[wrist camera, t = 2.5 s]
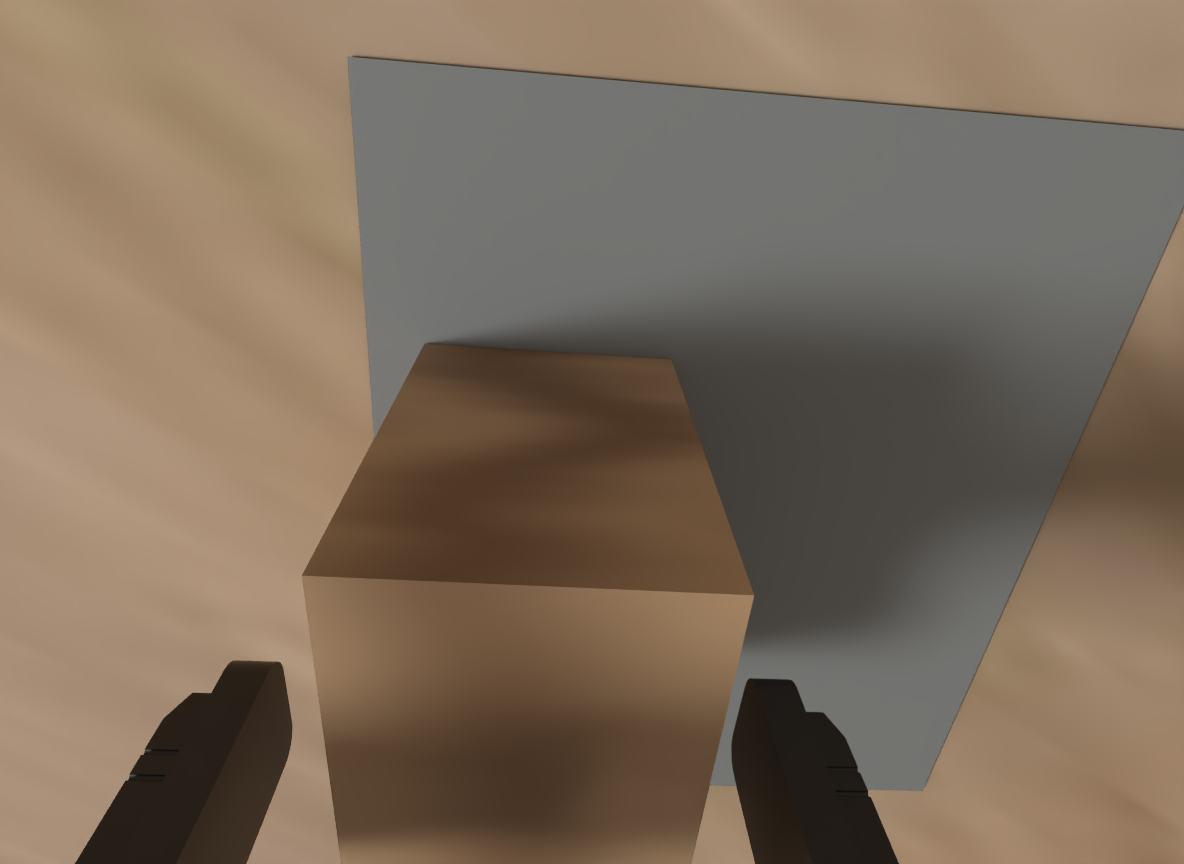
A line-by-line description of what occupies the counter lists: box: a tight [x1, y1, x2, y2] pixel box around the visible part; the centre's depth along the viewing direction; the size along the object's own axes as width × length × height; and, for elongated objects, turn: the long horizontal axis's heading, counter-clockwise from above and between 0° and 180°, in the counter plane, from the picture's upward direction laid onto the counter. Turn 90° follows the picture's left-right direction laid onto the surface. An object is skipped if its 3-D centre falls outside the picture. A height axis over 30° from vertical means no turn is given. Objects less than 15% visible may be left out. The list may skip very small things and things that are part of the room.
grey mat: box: [348, 57, 1184, 791], centre depth 18 cm, size 17×20×1 cm
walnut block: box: [302, 344, 754, 864], centre depth 14 cm, size 6×9×8 cm, turn 175°
